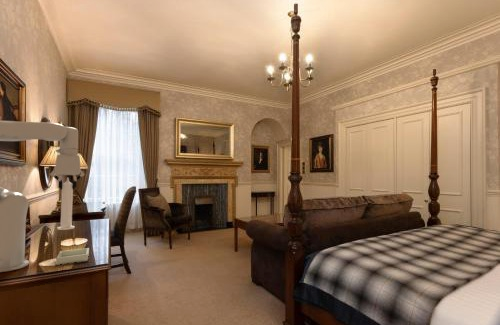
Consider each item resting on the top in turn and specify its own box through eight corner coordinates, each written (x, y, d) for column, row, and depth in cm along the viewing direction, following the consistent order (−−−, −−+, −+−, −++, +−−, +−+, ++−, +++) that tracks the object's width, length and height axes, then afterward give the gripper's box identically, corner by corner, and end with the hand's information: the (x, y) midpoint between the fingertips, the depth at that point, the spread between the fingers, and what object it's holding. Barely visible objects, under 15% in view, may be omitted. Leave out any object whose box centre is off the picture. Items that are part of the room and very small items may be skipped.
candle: (54, 229, 129) (56, 177, 130) (69, 226, 135) (71, 177, 136) (62, 230, 126) (64, 177, 127) (77, 227, 132) (79, 177, 133)
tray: (87, 261, 120) (87, 254, 120) (56, 265, 115) (56, 258, 115) (88, 254, 131) (89, 247, 131) (60, 257, 125) (60, 251, 125)
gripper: (46, 150, 125) (45, 190, 124) (88, 152, 134) (87, 189, 133) (48, 152, 131) (46, 189, 130) (88, 153, 140) (87, 188, 139)
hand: (67, 188), depth 131 cm, fingers closed on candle, 4 cm apart
